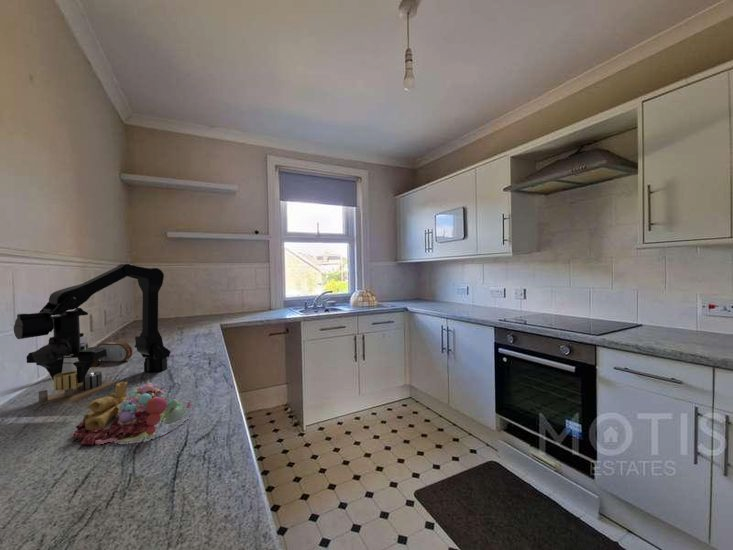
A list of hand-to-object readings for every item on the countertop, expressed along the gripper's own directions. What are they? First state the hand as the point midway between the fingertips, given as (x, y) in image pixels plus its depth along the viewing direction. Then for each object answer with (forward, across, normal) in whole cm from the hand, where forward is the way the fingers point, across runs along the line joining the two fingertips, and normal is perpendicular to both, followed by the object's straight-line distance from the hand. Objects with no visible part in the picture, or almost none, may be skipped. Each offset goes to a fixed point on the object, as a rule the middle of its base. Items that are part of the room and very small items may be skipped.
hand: (68, 383), depth 94 cm
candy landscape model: (+6, +30, -14) cm, 34 cm away
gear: (+4, 0, +7) cm, 8 cm away
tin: (+6, -16, +40) cm, 43 cm away
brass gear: (+1, 0, 0) cm, 1 cm away
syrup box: (+6, -19, +24) cm, 31 cm away
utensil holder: (+6, -22, +34) cm, 41 cm away
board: (+5, 0, +3) cm, 6 cm away
